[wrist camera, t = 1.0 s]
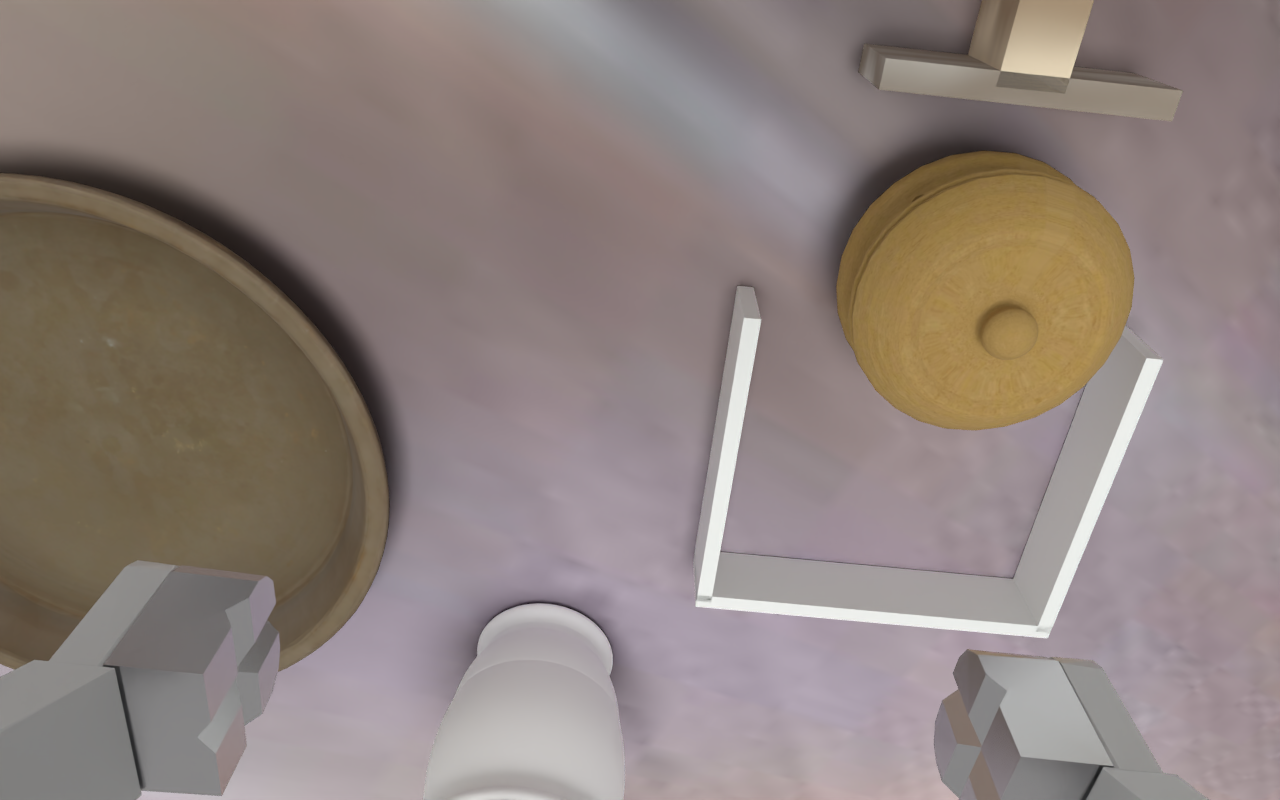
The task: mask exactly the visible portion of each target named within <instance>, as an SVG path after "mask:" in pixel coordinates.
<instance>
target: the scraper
mask: <svg viewBox="0 0 1280 800" xmlns="http://www.w3.org/2000/svg"><path fill="white" fill-rule="evenodd" d="M1093 2H1094V0H982V2H981V6H980V10H979V14H978V18H977V22H976V25H975V29H974V33H973V37H972V41H971V45H970V49H969V53H968V55H965V54H956V53H947V52H937V51H928V50H919V49H910V48H901V47H892V46H883V45H874V44H865V43H864V47H863V51H862V56H861V61H860V66H859V71H858V72H859V73H860V74H861V75H862V76H863V77H865V78H866V79H867V80H868V81H869V82H871V83H872V84H873V85H874V86H875V87H876V88H878V89H879V90H886V91H896V92H905V93H914V94H923V95H933V96H942V97H951V98H960V99H969V100H979V101H988V102H997V103H1006V104H1015V105H1025V106H1034V107H1043V108H1052V109H1062V110H1071V111H1080V112H1089V113H1098V114H1108V115H1117V116H1126V117H1135V118H1145V119H1154V120H1163V121H1172V120H1173V117H1174V114H1175V111H1176V109H1177V106H1178V103H1179V101H1180V98H1181V95H1182V92H1183V91H1182V90H1180V89H1177V88H1174V87H1171V86H1168V85H1166V84H1163V83H1160V82H1157V81H1154V80H1151V79H1149V78H1146V77H1143V76H1140V75H1137V74H1135V73H1128V72H1119V71H1110V70H1101V69H1092V68H1083V67H1074V64H1075V60H1076V57H1077V54H1078V51H1079V47H1080V44H1081V41H1082V38H1083V35H1084V31H1085V28H1086V25H1087V22H1088V18H1089V15H1090V12H1091V9H1092V5H1093Z"/></svg>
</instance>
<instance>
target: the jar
mask: <svg viewBox="0 0 1280 800" xmlns="http://www.w3.org/2000/svg"><path fill="white" fill-rule="evenodd" d="M612 666H613V654H612V649H611V646H610V643H609V641H608V639H607V637H606V636H605V634H604V633H603V632H602V630H601V629H600V628H599V627H598V626H597V625H596V624H595V623H594V622H593V621H591V620H590V619H589V618H587V617H586V616H584V615H582V614H580V613H579V612H577V611H574V610H572V609H569V608H566V607H563V606H558V605H553V604H543V603H535V604H525V605H521V606H517V607H513V608H510V609H508V610H506V611H504V612H502V613H500V614H499V615H497V616H496V617H495V618H493V619H492V620H491V621H490V622H489V623H488V624H487V625H486V627H485V628H484V630H483V631H482V633H481V635H480V638H479V641H478V646H477V657H476V659H475V660H474V661H473V662H472V664H471V665H470V666H469V668H468V670H467V671H466V673H465V675H464V676H463V678H462V680H461V682H460V684H459V686H458V688H457V691H456V693H455V696H454V699H453V700H452V702H451V704H450V706H449V707H448V709H447V711H446V713H445V715H444V717H443V720H442V722H441V724H440V727H439V729H438V732H437V734H436V737H435V740H434V743H433V747H432V750H431V754H430V758H429V762H428V767H427V772H426V779H425V786H424V795H423V800H623V798H624V788H625V755H624V745H623V737H622V731H621V726H620V721H619V711H618V704H617V699H616V694H615V690H614V687H613V684H612V681H611V679H610V677H609V676H610V674H611V670H612Z"/></svg>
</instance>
